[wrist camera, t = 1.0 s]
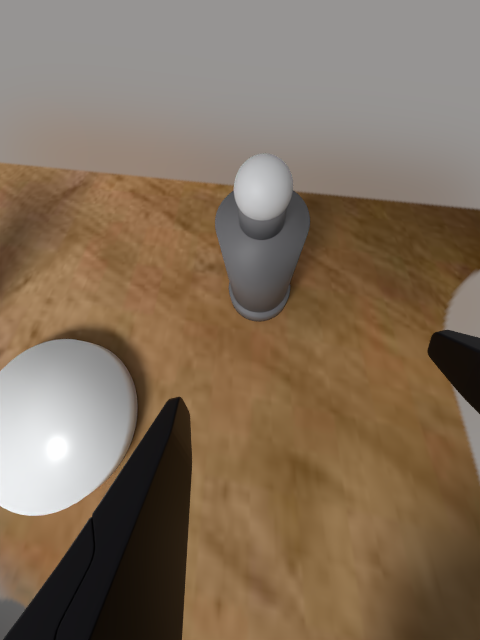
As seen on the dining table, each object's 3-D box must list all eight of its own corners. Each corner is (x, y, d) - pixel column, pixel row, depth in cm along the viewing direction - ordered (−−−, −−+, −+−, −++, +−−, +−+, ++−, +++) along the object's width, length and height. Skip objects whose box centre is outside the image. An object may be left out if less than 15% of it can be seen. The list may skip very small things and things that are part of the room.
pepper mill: (299, 292, 22) (369, 154, 9) (260, 333, 22) (268, 253, 8) (257, 258, 24) (260, 89, 10) (219, 295, 23) (164, 170, 9)
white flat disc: (168, 416, 20) (161, 419, 19) (41, 547, 18) (23, 561, 17) (81, 313, 23) (69, 309, 22) (-35, 416, 21) (-56, 419, 20)
